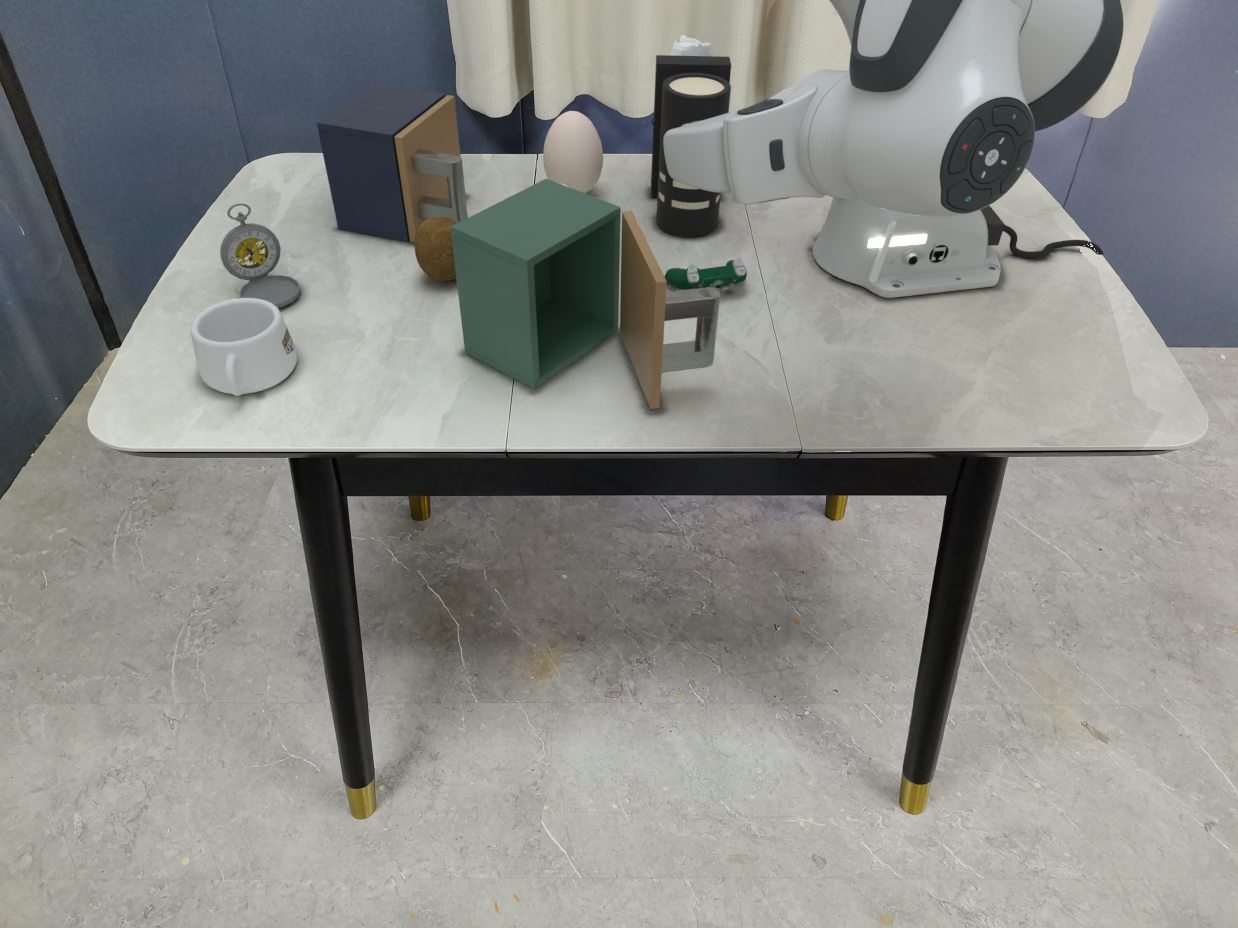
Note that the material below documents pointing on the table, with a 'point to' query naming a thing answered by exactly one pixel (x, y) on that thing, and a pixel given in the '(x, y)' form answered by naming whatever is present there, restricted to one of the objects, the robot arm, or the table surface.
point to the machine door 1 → (432, 167)
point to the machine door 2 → (660, 315)
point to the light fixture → (680, 99)
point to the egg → (573, 152)
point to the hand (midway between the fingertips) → (735, 119)
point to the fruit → (436, 248)
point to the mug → (242, 346)
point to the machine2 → (538, 280)
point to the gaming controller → (707, 276)
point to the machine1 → (371, 158)
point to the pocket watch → (257, 262)
